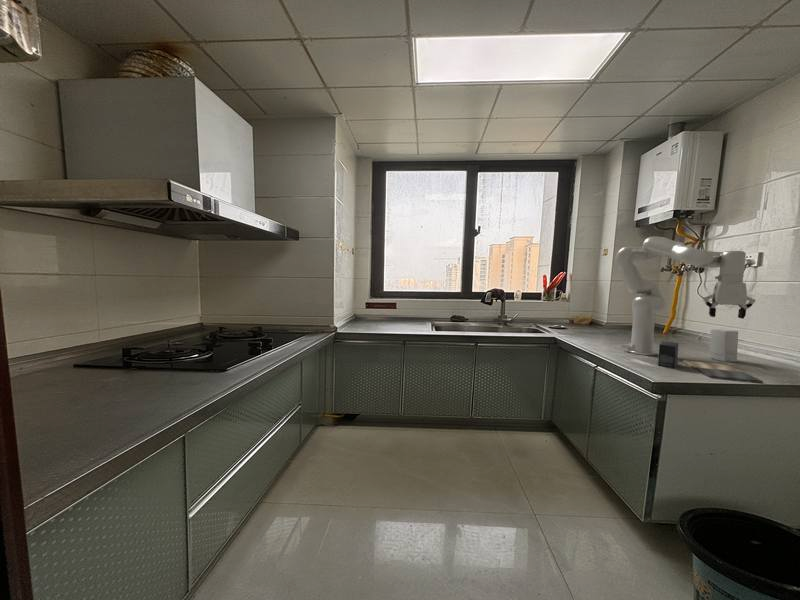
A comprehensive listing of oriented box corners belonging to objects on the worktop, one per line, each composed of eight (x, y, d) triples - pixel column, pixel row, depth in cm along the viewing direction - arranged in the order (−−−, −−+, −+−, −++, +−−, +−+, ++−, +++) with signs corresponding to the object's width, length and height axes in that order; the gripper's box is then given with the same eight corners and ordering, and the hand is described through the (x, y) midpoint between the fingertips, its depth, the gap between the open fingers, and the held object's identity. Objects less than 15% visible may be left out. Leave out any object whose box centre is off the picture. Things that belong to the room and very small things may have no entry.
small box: (660, 361, 157) (661, 340, 156) (677, 364, 152) (679, 342, 152) (656, 365, 150) (658, 343, 149) (675, 368, 145) (677, 346, 144)
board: (710, 377, 132) (710, 375, 132) (682, 362, 156) (683, 360, 156) (762, 383, 126) (762, 380, 126) (725, 366, 150) (725, 364, 150)
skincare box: (737, 362, 158) (740, 331, 156) (723, 362, 158) (726, 331, 156) (720, 357, 166) (723, 328, 165) (707, 357, 166) (710, 328, 165)
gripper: (709, 278, 140) (705, 317, 142) (762, 279, 134) (758, 319, 135) (701, 278, 147) (697, 315, 149) (751, 279, 141) (747, 317, 142)
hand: (726, 317), depth 142 cm, fingers open, 9 cm apart
